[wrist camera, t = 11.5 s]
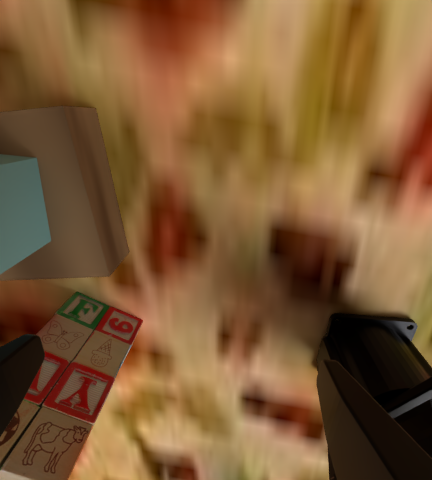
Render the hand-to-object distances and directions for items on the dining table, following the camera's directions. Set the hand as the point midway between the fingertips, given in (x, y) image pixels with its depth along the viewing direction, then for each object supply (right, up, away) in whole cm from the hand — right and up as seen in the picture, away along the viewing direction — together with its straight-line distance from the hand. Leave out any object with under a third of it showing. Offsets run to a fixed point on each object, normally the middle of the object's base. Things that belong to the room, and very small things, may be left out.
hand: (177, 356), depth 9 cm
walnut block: (-11, +7, +11) cm, 17 cm away
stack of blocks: (-13, -10, +19) cm, 25 cm away
